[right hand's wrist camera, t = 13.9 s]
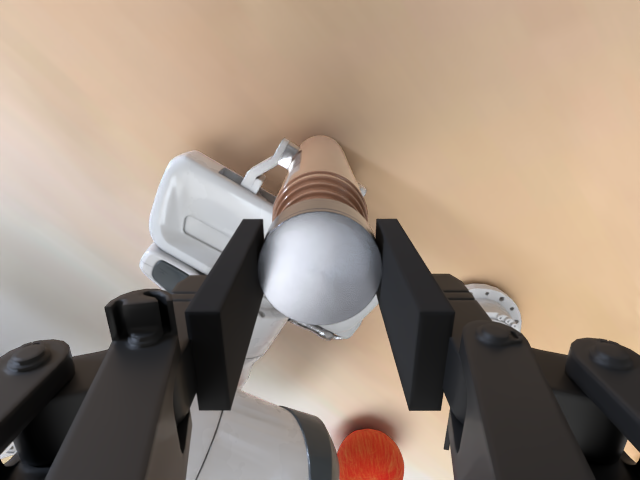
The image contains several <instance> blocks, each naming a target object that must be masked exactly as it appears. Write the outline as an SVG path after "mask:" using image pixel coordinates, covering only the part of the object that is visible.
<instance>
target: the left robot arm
mask: <svg viewBox="0 0 640 480" xmlns="http://www.w3.org/2000/svg"><path fill="white" fill-rule="evenodd" d="M299 149H300V147H299V146H297V145H296V144H294V143H293V142H291V141H290V140H288V139H286V138H285V137H284V138H283V140H282V142H281V143H280V145H279V147H278V148H277V150H276V152H275V154H274V156H271V157H269V158H268V159H266V160H264V161H262V162H261V163H259V164H257V165H255V166H253V167H252V168H251V169H250V170H249V171H248V172H247V174H246V176H245V177H243V176H241V175H239V174H237V173H236V172H234V171H232V170H231V169H229V168H227V167H225V166H224V165H222V164H220V163H219V162H217V161H215V160H213V159H212V158H210V157H208V156H207V155H205V154H203V153H201V152H200V151H197V150H193V151H189V152H186V153H182V154H180V155H178V156H176V157H174V158H173V159H172V160H171V161H170V162H169V164H168V166H167V168H166V170H165V172H164V175H163V177H162V179H161V182H160V185H159V187H158V190H157V193H156V196H155V199H154V203H153V206H152V210H151V214H150V219H149V230H150V235H151V237H152V239H153V241H154V242H153V243H152V244H151V245H150V246H149V248H148V249H147V250H146V252H145V253H144V255H143V256H142V258H141V261H140V269H141V270H142V272H143V273H144V274H145V275H146V276H147V277H148V278H149V279H151V280H152V281H153V282H154V283H155V284H156V285H157V286H159V287H160V288H161V289H162V290H165V291H167V292H169V293H170V294H171V291H172V290H173V289H174V287H175V286H176V285H177V283H178V282H180V281H182V280H183V279H185V278H187V277H188V276H190V275H208V274H209V272H210V270H211V269H212V267H213V266H214V264H215V263H216V261H217V259H218V258H219V256H220V255H221V253H222V251H223V250H224V248H225V247H226V245H227V244H228V242H229V240H230V239H231V237H232V236H233V234H234V232H235V231H236V229H237V228H238V226H239V225H240V223H241V221H242V220H243V219H263V226H264V239H265V236H266V234H267V231H268V229H269V227H270V225H271V224H272V211H273V206H274V202H275V200H276V197H277V196H275V195H273V194H272V193H270V192H268V191H267V190H265V189H263V188H261V186H262V184H263V182H264V180H265V179H266V176H265V175H264V174H263V173H265V172H267V171H268V170H270V169H272V168H274V167H275V166H277V165H278V164H279V165H280V166H282V167H284V168H286V169H287V170H288V169H289V167H290V165H291V163H292V161H293V158H294V157H295V156H296V155H297V153H298V151H299ZM357 184H358V186H359V188H360V190H361V193H362V195H363V197H364V196H365V194H366V191H367V190H366V188H365V187H364V186H362V185H361V184H359V183H357ZM378 304H379V303H378V299H377V296H376V295H375V297H374V298H373V299H372V301H371V302H370V303H369V304H368V305H367V307H366V308H365V309H363V310H362V311H361V312H360V313H358V314H357V315H355V316H354V317H352V318H350V319H348V320H345V321H342V322H340V323H336V324H331V325H309V324H304V323H300V322H297V321H295V320H292V319H290V318H288V317H286V316H285V315H283V314H282V313H280V312H279V311H278V310H276V309H275V308H274V307H273V306H272V305H271V304H270V303H269V301H268V300H267V298H266V297H265V296H264V295H263V298H262V302H261V306H260V309H259V313H258V316H257V320H256V323H255V327H254V330H253V334H252V337H251V341H250V344H249V348H248V351H247V355H246V358H245V362H244V365H243V369H242V372H241V376H240V379H239V383H238V386H237V390H236V393H235V397H234V400H233V404H232V407H231V411H199V407H198V401H197V394H196V395H195V397H194V400H193V402H192V404H191V407H190V412H191V419H192V432H191V441H190V449H189V457H188V466H187V474H186V480H339V477H340V467H339V461H338V456H337V453H336V450H335V447H334V444H333V442H332V439H331V437H330V435H329V433H328V431H327V429H326V427H325V425H324V423H323V422H322V421H321V420H320V419H319V418H318V417H316V416H314V415H310V414H307V413H304V412H300V411H297V410H294V409H291V408H287V407H284V406H277V405H275V404H272V403H270V402H268V401H265V400H263V399H260V398H258V397H256V396H253V395H251V394H248V393H246V392H244V391H241V388H242V387H243V386H244V384H245V383H246V381H247V379H248V377H249V374H250V371H251V367H252V365H253V363H254V362H255V361H257V360H258V359H259V358H261V357H262V356H263V355H264V354H265V353H266V351H267V350H268V349H269V347H270V346H271V344H272V343H273V341H274V340H275V338H276V337H277V335H278V334H279V332H280V331H281V330H282V328H283V327H284V325H285V324H286V322H287V321H289V322H291V323H293V324H295V325H297V326H299V327H301V328H303V329H305V330H308V331H311V332H313V333H315V334H317V336H318V337H320V338H322V339H324V340H328V341H330V340H331V339H335V340H342V339H348V338H350V337H351V336H352V335H353V334H354V332H355V331H356V330H357V328H358V327H359V326H360V324H361V322H362V320H363V318H365V317H366V316H367V315H368V314H369V313H370V312H371V311H372V310H373V309H374V308H375V307H376V306H377V305H378ZM334 334H336V335H334ZM16 452H17V451H16V448H15V446H14V443H13V442H12V443H11V444H10V445H9V446H8V447H7V448H6V449H5V450H4V451H3V453H2V454H1V455H0V459H2V458H5V457H8V456H11V455H14V454H15V453H16Z"/></svg>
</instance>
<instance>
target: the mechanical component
mask: <svg viewBox="0 0 640 480" xmlns="http://www.w3.org/2000/svg"><path fill="white" fill-rule="evenodd" d="M465 286H466V287H467V289H468V290H469V292H471V294H472V295H473V296H474V298H475V300H477V302H478V303H479V304H480V305H481V307H482V308H483V309H484V311H485V312H486V313H487V315H488V316H489V317H490V318H491V320H492V321H495V322H500V323H503V324H505V325H508V326H510V327H513V328H514V329H516V330H517V331H519V332H520V331H521V322H522V321H521V315H520V312H519V309H518V307H517V305H516V304H515V303H514V302H513V301H512V299H511V298H510V297H509V296H508V295H507V294H506V293H504V292H503V291H501V290H500V289H498V288H497V287H493V286H490V285H487V284H468V285H465ZM520 333H521V332H520Z"/></svg>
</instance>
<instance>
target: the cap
mask: <svg viewBox="0 0 640 480" xmlns="http://www.w3.org/2000/svg"><path fill="white" fill-rule="evenodd" d="M257 264H258V280H259V284H260V287H261V290H262V292H263V294H264V296H265V297H266V298H267V300H268V301H269V303H270V304H271V305H272V306H273V307H274V308H275V309H276V310H278V311H279V312H280V313H282V314H283V315H285V316H286V317H288V318H290V319H292V320H295V321H297V322H300V323H304V324H309V325H331V324H336V323H340V322H342V321H345V320H348V319H350V318H352V317H354V316H355V315H357V314H358V313H360V312H361V311H362V310H363V309H365V308H366V307H367V305H368V304H369V303H370V302H371V301H372V299H373V298H374V297H375V295H376V293H377V291H378V289H379V286H380V284H381V277H382V256H381V252H380V250H379V247H378V244H377V242H376V239H375V237H374V234H373V232H372V229H371V227H370V226H369V224H368V223H367V221H366V220H365V218H364V217H363V216H362V215H361V214H360V213H359V212H357V211H356V210H355V209H353V208H352V207H350V206H348V205H347V204H344V203H342V202H339V201H336V200H332V199H325V198H316V199H308V200H304V201H301V202H298V203H295V204H293V205H291V206H290V207H288V208H286V209H285V210H284V211H282V212H281V213H280V214H279V215H278V216H277V217H276V218H275V220H274V221H273V222H272V224H271V225H270V227H269V229H268V231H267V234H266V236H265V239H264V241H263V244H262V246H261V249H260V251H259V255H258V259H257Z"/></svg>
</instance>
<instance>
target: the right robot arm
mask: <svg viewBox="0 0 640 480" xmlns="http://www.w3.org/2000/svg"><path fill="white" fill-rule="evenodd" d="M263 241H264V226H263V219H243V220H242V221H241V223H240V225H239V226H238V228H237V229H236V231H235V232H234V234H233V236H232V237H231V239H230V240H229V242H228V244H227V245H226V247H225V248H224V250H223V251H222V253H221V255H220V256H219V258H218V259H217V261H216V263H215V264H214V266H213V267H212V269H211V270H210V272H209V274H208V275H190V276H188V277H187V278H185V279H183V280H182V281H180V282H178V283H177V285H176V286H175V287H174V289H173V290H172V291H171V294H170V293H169V292H167V291H165V290H160V289H143V290H137V291H132V292H129V293H126V294H123V295H121V296H119V297H117V298H115V299H113V300H112V301H110V302H109V303H108V304H107V305H106V306H105V307H104V308H105V312H106V316H107V320H108V325H109V329H110V333H111V337H112V343H111V345H110V347H109V349H108V350H104V351H100V352H95V353H90V354H85V355H79V356H74V357H72V355H71V351H70V348H69V345H68V344H66V343H65V342H64V341H60V340H54V339H53V340H40V341H35V342H33V343H31V342H30V343H27V344H24V345H22V346H21V347H18V348H16V349H14V350H11V351H9V352H8V353H6V354H5V355H3V356H2V357H0V455H1V454H2V453H3V451H4V450H5V449H6V448H7V447H8V446H9V445H10V444H11V443H12V442H13V443H14V446H15V448H16V451H17V452H16V453H15V454H14V456H13V457H12V458H11V459H10V460H9V461H7V462H6V463H5V464H3V463H2V462H1V459H0V480H186V474H187V466H188V457H189V449H190V441H191V432H192V419H191V412H190V407H191V404H192V402H193V400H194V397H195V395H196V394H197V401H198V407H199V411H231V407H232V404H233V400H234V397H235V393H236V390H237V386H238V383H239V379H240V376H241V372H242V369H243V365H244V362H245V358H246V355H247V351H248V348H249V344H250V341H251V337H252V334H253V330H254V327H255V323H256V320H257V316H258V313H259V309H260V306H261V302H262V298H263V295H264V294H263V292H262V290H261V287H260V284H259V280H258V264H257V259H258V255H259V251H260V249H261V246H262V244H263ZM376 242H377V244H378V247H379V250H380V252H381V256H382V277H381V284H380V286H379V289H378V291H377V293H376V296H377V299H378V303H379V306H380V310H381V313H382V317H383V320H384V324H385V327H386V331H387V334H388V338H389V341H390V345H391V349H392V352H393V356H394V359H395V363H396V366H397V370H398V373H399V377H400V380H401V384H402V387H403V391H404V394H405V398H406V401H407V405H408V408H409V411H441V406H442V399H443V392H444V394H445V396H446V398H447V401H448V403H449V405H450V412H449V419H448V425H447V431H446V437H445V444H444V449H445V450H449V446H450V448H451V456H452V465H453V473H454V480H640V458H639V461H638V462H637V463H636V462H634V461H633V460H632V459H631V458H630V457H629V456H628V455H627V454H626V453H625V451H624V447H625V445H626V442H627V440H629V441H630V442H631V443H632V445H633V446H634V447H635V448H636V449H637V450H638V451H639V452H640V355H638V354H637V353H635V352H634V351H632V350H631V349H628V348H626V347H624V346H621V345H619V344H618V343H616V342H612V341H607V340H605V339H596V338H582V339H577V340H575V341H574V342H573V343H571V347H570V350H569V354H568V355H564V354H559V353H554V352H548V351H543V350H539V349H535V348H531V346H530V344H529V342H528V340H527V339H526V338H525V337H524V336H523V334H522V333H520V332H519V331H517V330H516V329H514V328H513V327H510V326H508V325H505V324H503V323H500V322H495V321H492V320H491V318H490V317H489V316H488V315H487V313H486V312H485V311H484V309H483V308H482V307H481V305H480V304H479V303H478V302H477V300H475V298H474V296H473V295H472V294H471V292H469V290H468V289H467V287H466V286H465V285H464V283H463V282H462V281H460V280H459V279H457V278H455V277H454V276H452V275H450V274H431V272H430V271H429V269H428V268H427V266H426V265H425V263H424V261H423V260H422V258H421V257H420V255H419V253H418V252H417V250H416V249H415V247H414V246H413V244H412V242H411V241H410V239H409V238H408V236H407V234H406V233H405V231H404V230H403V228H402V227H401V225H400V223H399V222H398V220H397V219H377V221H376Z"/></svg>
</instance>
